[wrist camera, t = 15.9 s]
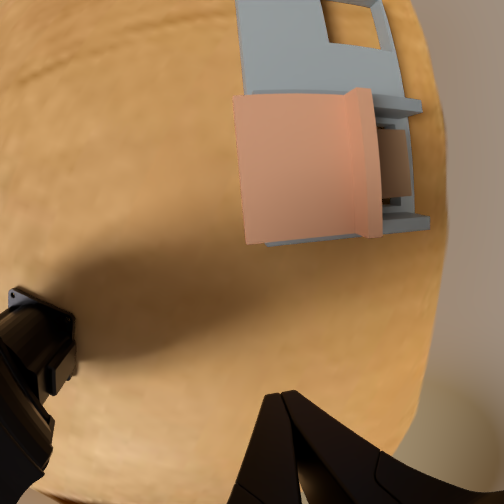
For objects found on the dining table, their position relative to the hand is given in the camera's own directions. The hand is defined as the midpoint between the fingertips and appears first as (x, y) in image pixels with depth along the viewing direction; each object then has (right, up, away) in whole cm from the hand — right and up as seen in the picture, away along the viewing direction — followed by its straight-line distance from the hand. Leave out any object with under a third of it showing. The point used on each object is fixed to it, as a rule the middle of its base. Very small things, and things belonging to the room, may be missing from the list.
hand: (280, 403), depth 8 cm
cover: (+2, +8, +7) cm, 11 cm away
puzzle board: (+4, +15, +10) cm, 19 cm away
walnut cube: (+6, +10, +12) cm, 17 cm away
